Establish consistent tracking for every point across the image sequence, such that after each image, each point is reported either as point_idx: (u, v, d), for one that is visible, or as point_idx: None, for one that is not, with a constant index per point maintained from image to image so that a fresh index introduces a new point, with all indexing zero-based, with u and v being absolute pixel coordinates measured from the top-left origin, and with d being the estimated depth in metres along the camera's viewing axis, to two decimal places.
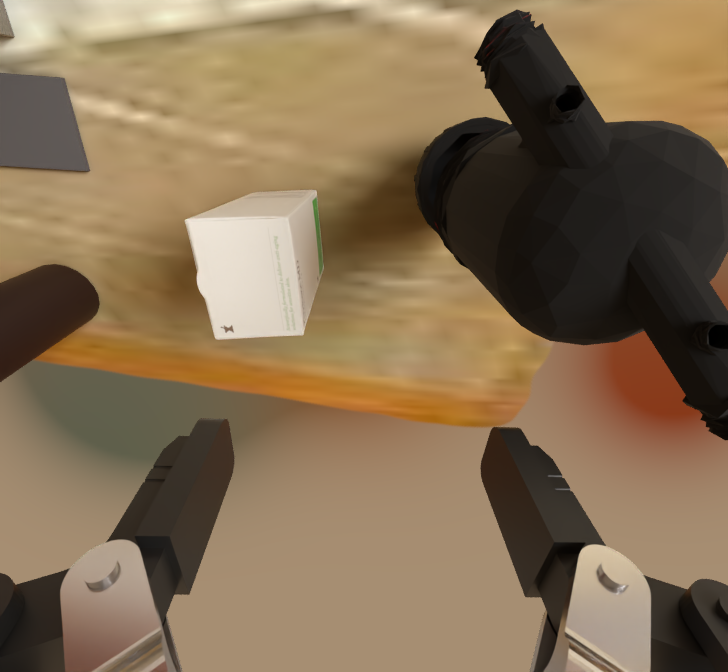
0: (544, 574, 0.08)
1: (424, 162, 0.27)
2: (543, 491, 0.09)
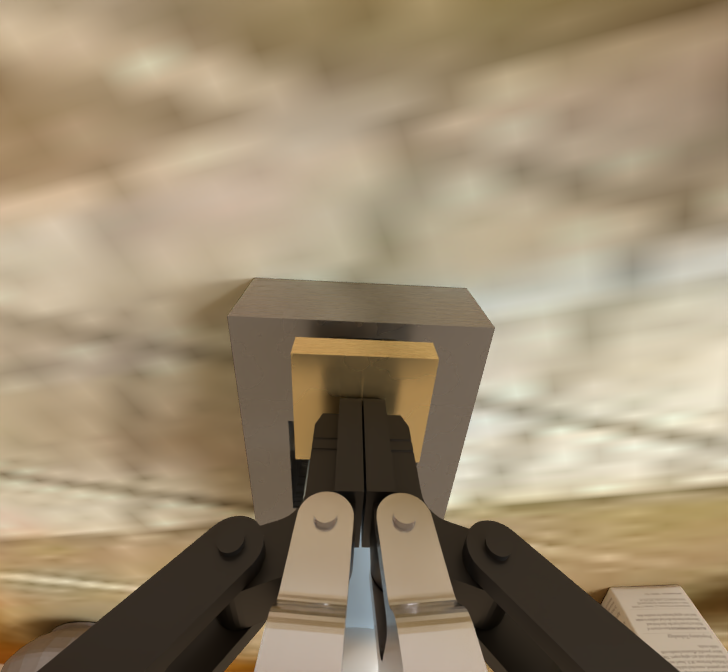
0: (368, 523, 0.09)
1: None
2: (378, 451, 0.09)
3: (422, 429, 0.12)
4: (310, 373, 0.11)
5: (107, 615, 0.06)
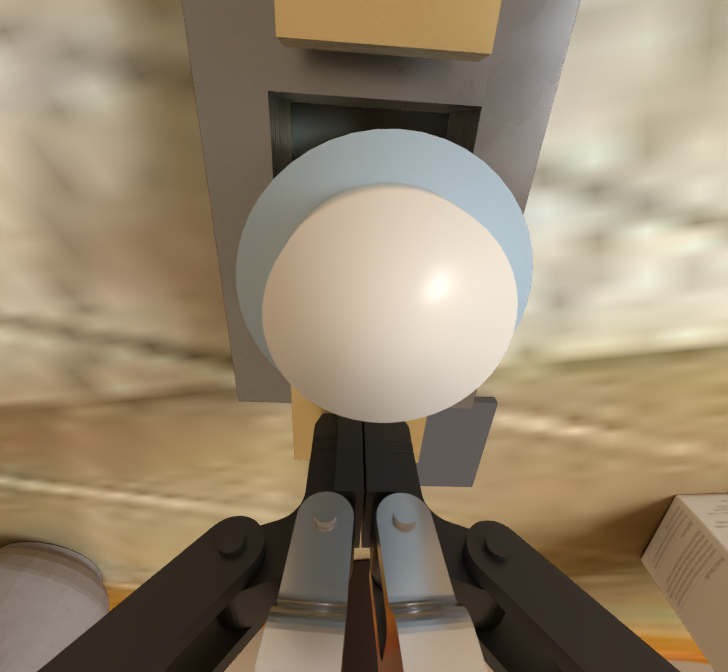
0: (368, 523, 0.09)
1: None
2: (378, 451, 0.09)
3: None
4: None
5: (107, 615, 0.06)
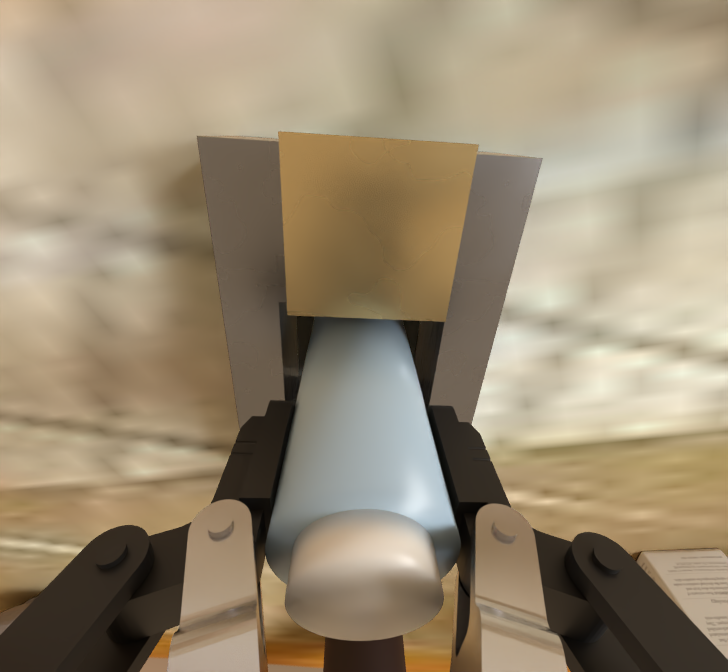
0: None
1: None
2: (460, 459, 0.09)
3: (451, 267, 0.10)
4: (305, 167, 0.08)
5: None
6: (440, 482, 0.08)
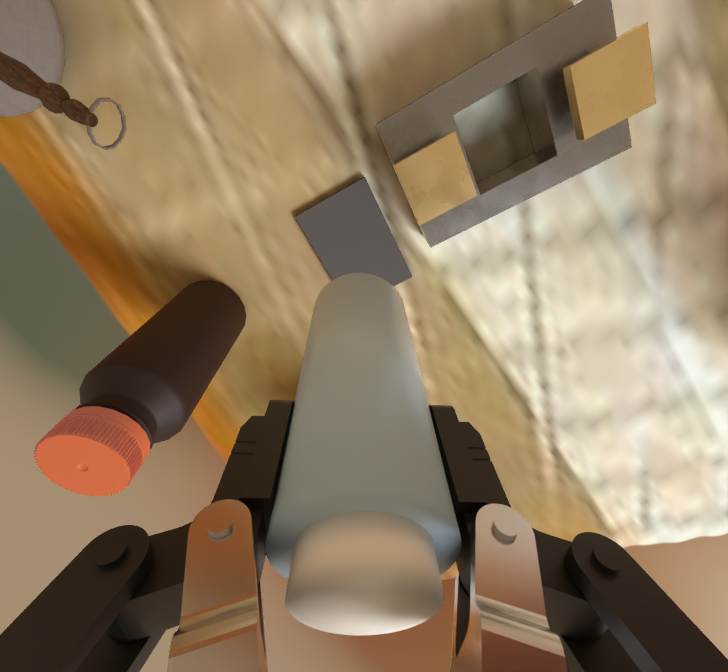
0: None
1: None
2: (460, 459, 0.09)
3: (609, 125, 0.24)
4: (636, 40, 0.22)
5: None
6: (442, 483, 0.08)
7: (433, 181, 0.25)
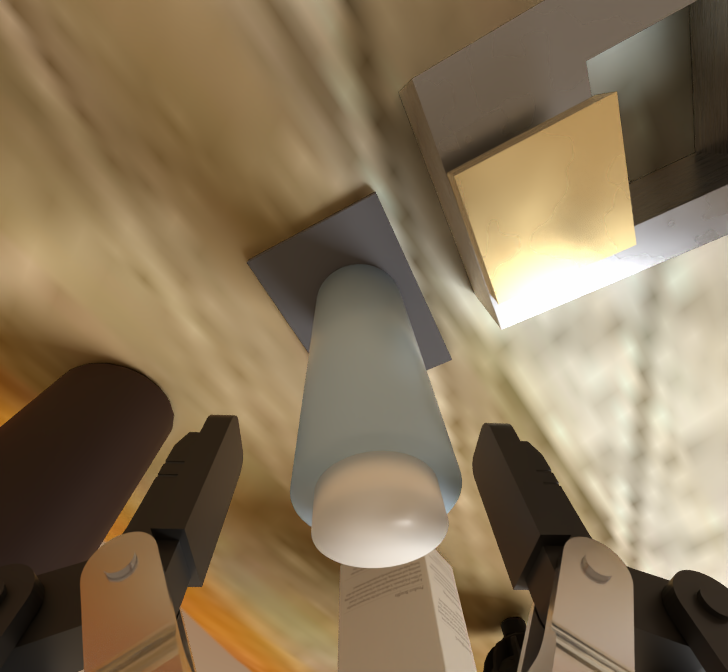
0: (531, 566, 0.08)
1: None
2: (531, 485, 0.09)
3: None
4: None
5: None
6: (444, 431, 0.09)
7: (543, 213, 0.11)
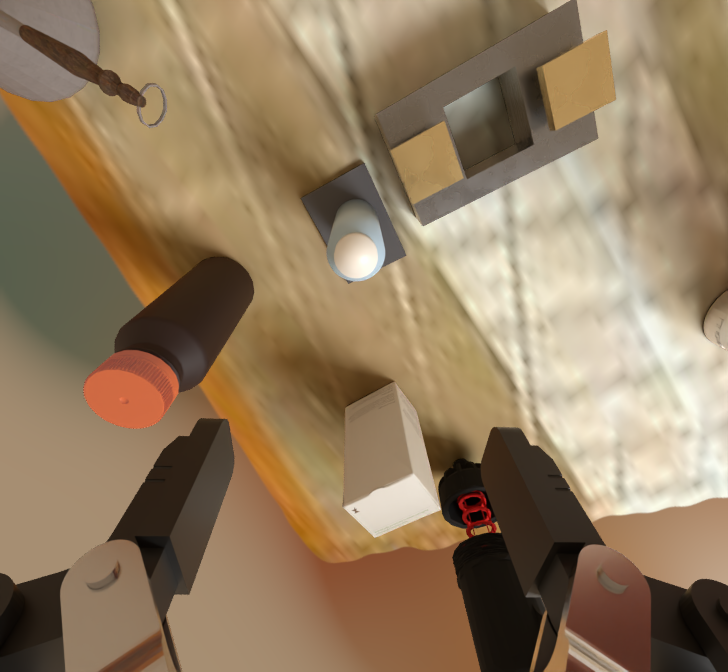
0: (544, 574, 0.08)
1: (474, 486, 0.46)
2: (543, 491, 0.09)
3: (576, 118, 0.27)
4: (597, 45, 0.25)
5: None
6: (380, 234, 0.27)
7: (425, 165, 0.29)
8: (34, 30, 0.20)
